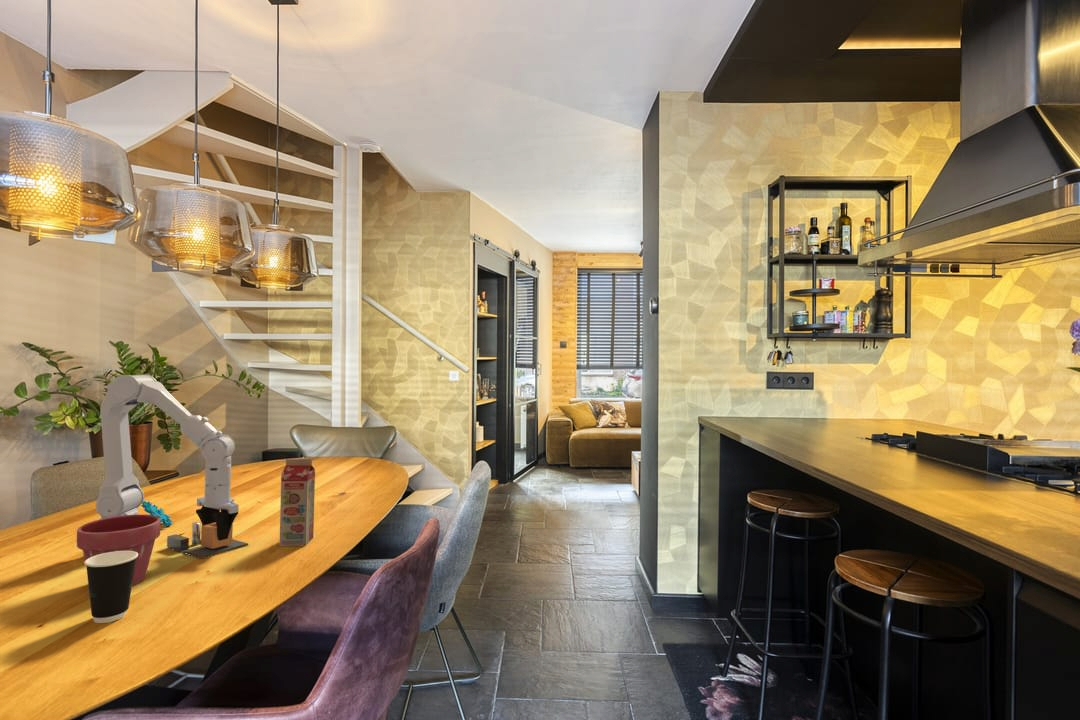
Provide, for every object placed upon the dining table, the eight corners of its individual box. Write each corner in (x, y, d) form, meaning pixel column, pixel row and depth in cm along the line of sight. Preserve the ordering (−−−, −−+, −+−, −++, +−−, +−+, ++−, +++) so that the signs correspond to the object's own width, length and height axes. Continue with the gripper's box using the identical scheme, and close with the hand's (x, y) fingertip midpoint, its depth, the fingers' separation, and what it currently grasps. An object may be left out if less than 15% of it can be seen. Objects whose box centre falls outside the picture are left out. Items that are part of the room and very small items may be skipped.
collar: (212, 548, 138) (213, 528, 138) (200, 545, 140) (201, 525, 141) (232, 543, 142) (232, 523, 143) (220, 540, 145) (220, 521, 145)
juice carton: (287, 538, 151) (290, 457, 152) (313, 537, 152) (315, 457, 152) (279, 545, 145) (281, 461, 145) (305, 545, 145) (308, 461, 146)
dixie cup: (70, 624, 99) (72, 563, 100) (111, 606, 107) (113, 549, 107) (108, 629, 98) (110, 566, 98) (147, 610, 106) (148, 552, 106)
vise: (180, 552, 138) (180, 530, 139) (166, 548, 141) (167, 526, 141) (230, 538, 150) (231, 518, 150) (217, 535, 153) (217, 515, 153)
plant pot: (62, 600, 110) (64, 535, 110) (90, 575, 123) (92, 516, 123) (148, 590, 115) (150, 528, 115) (166, 567, 128) (167, 512, 128)
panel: (201, 558, 134) (201, 556, 134) (182, 552, 138) (182, 550, 138) (248, 545, 145) (248, 543, 145) (229, 540, 148) (229, 538, 148)
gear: (169, 524, 156) (141, 500, 155) (150, 541, 154) (121, 517, 153) (179, 519, 166) (152, 497, 165) (161, 535, 164) (135, 512, 163)
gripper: (250, 484, 142) (249, 538, 141) (216, 478, 149) (215, 529, 148) (223, 489, 135) (221, 545, 135) (189, 482, 142) (187, 535, 142)
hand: (216, 537), depth 141 cm, fingers closed on collar, 5 cm apart
